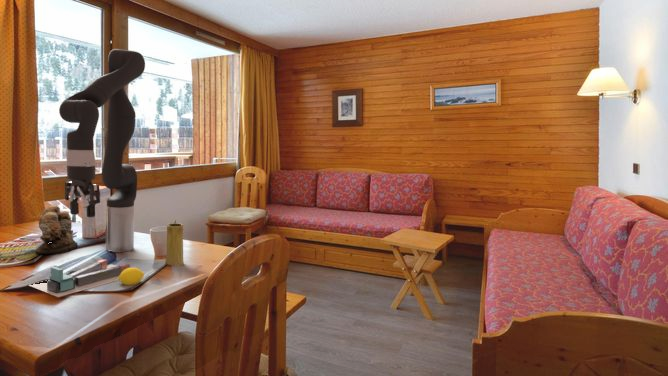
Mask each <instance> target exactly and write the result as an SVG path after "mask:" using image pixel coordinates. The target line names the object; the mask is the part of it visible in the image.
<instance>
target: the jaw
mask: <svg viewBox="0 0 668 376" xmlns="http://www.w3.org/2000/svg"><path fill="white" fill-rule="evenodd" d="M107 265H108V259H104V258H103V259H99V260H98V261H96V262H95V263H92V264H90V265H88V266H85V267H83V268H81V269H79V270H77V271H75V272H72V273H70V274H68V275H69V276H72V277H73V279H75V277H77V276H80V275H84V274H88V273H92V272H96V271H100V270H103V269H105V268H107Z"/></svg>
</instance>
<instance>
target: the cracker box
mask: <svg viewBox="0 0 668 376" xmlns="http://www.w3.org/2000/svg"><path fill="white" fill-rule="evenodd" d="M99 191H100V203H97V204H96V205H95V216H94V217H87V204H86V202H85V200H83V199H82V197H80V198H81V229H82V231H81V233H82V239H97V237H98V238H100V237H101V236H103V235H106V225H107V199H108V198H109V197H111V189H109V188H107V187H106V186H105V185H99ZM94 192H95V191H94ZM89 195H90V194H89ZM94 198H95V200H96V196H95V197H94ZM89 201H90V199H89Z"/></svg>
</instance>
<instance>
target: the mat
mask: <svg viewBox="0 0 668 376" xmlns="http://www.w3.org/2000/svg"><path fill="white" fill-rule="evenodd" d="M116 266H117V265H116V264H112V263H111V264H107V268H105V269H108V268H112V267H116ZM103 270H104V269H103ZM119 276H120V275H117V276H113V277H110V278H106V279H102V280H99V281H95V282H92V283H88V284H84V285H81V286H77V285H75V289H71V290H67V291H64V292H60V293H57V294H56V293H53V292H51V291H48V290H47V283H40V284H35V283H32V284H33V285H31V284H28V286H29V287H31V288H34V289H37V290H39V291H42V292H45V293H46V294H49V295H51V296H54V297H56V298H61V297H64V296H68V295H71V294H75V293H79V292H81V291H84V290H88V289H92V288H95V287H99V286H102V285H105V284H106V285H107V284H110V283H113V282H115V281H120V280H119Z"/></svg>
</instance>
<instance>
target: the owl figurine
mask: <svg viewBox="0 0 668 376" xmlns="http://www.w3.org/2000/svg"><path fill="white" fill-rule="evenodd" d="M69 212H70V211H67V210H62V211H61V208H60V207H59V206H58V205H55V204H54V205H53V204H52V205H49V206H46V207H45V208H44V210H43V211H42V213H41V215H40V216H39V218H38V228H39V229H40V231H41V236H40V237H39V238H40V239H41V241H42V242H43V243H41V244H40V245H39V246H38V247H36V248H35V253H36V252H37V253H36V254H37V255H54V256H55V255H61V254H65V253H68V252H71V251H74V250H75V249H77V248H78V243H77V242H76V241H75V240H74V238H73V234H74V230H73V229H72V227H73V225H72V223H73V222H72V217H71V214H70V213H69ZM49 242H52V243H49ZM48 243H49V244H48Z"/></svg>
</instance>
